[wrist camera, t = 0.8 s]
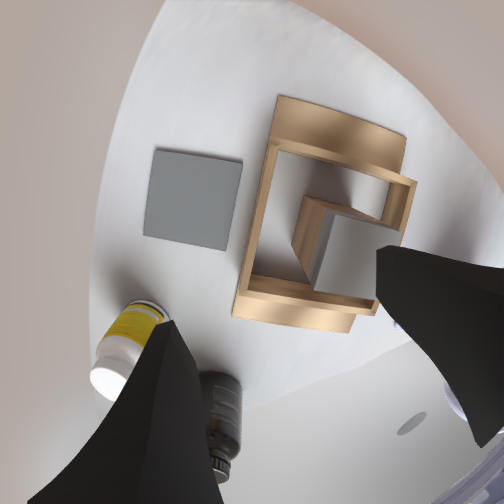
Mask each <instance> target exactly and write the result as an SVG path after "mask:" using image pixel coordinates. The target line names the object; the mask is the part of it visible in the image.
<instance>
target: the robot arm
mask: <svg viewBox="0 0 504 504" xmlns="http://www.w3.org/2000/svg"><path fill="white" fill-rule="evenodd" d="M376 297H377V299H378V300H379V302H380V303H381V304H382V306H383V307H384V309H385V310H386V311H387V312H388V314H389V315H390V316H391V317H392V318H393V319H394V321H395V322H396V323H395V326H394V327H395V329H396V330H402V331H405V332H406V333H407V334H408V335H409V336H410V337H411V338H412V339H413V340H414V341H415V342H416V343H417V344H418V345H419V346H420V348H422V350H423V351H424V352H425V353H426V354H427V355H428V356H429V357H430V359H431V360H432V361H433V362H434V364H435V365H436V367H437V368H438V369H439V371H440V372H441V374H442V375H443V377H444V378H445V380H446V381H445V383H444V390H445V397H446V399H447V401H448V403H449V405H450V406H451V407H452V409H453V410H454V411H455V412H456V413H457V414H458V415H459V416H460V417H461V418H463V419H464V420H466V421H467V422H468V423H469V425H470V428H471V430H472V433H473V436H474V439H475V442H476V443H477V444H478V445H479V447H480V448H482V447H484V446H485V445H486V444H487V443H488V442H489V441H490V440H491V439H492V438H493V437H494V436H495V435H496V434H499V433H502V432H504V269H503V268H495V267H488V266H481V265H476V264H471V263H466V262H462V261H457V260H453V259H449V258H445V257H441V256H437V255H433V254H429V253H425V252H421V251H417V250H413V249H409V248H405V247H400V246H394V245H388V246H385V247H383V248H380V249H377V250H376ZM486 482H487V483H486ZM485 483H486V484H485ZM484 484H485V486H484V488H485V491H483V492H482V493H481V494H480V495H479V496H477V497H476V498H475V499H474V500H473V501H471V502H470V503H469V504H504V438H503V439H502V440H501V441H500V442H499V443H498V444H497V445H496V446H495V447H494V448H493V449H492V450H491V452H489V453H488V455H487V456H485V457H484V458H483V459H482V460H481V461H480V462H479V463H478V464H477V465H476V466H475V467H474V468H473V469H472V470H470V471H469V472H468V473H467V474H466V475H465V476H464V477H462V478H461V479H460V480H459V481H458V482H456V483H455V484H454V485H453V486H452V487H450V488H449V489H448V490H446V491H445V492H444V493H442V494H441V495H440V496H438V497H437V498H436V499H434V500H433V501H431V502H430V503H428V504H462V503H463V502H465V501H466V500H467V499H468V498H469V497H471V496H472V495H473V494H474V493H475V492H476V491H477V490H478V489H480V488H481V487H482V486H483V485H484ZM27 504H224V502H223V499H222V496H221V493H220V491H219V487H218V484H217V481H216V478H215V474H214V470H213V467H212V463H211V459H210V455H209V450H208V444H207V436H206V428H205V419H204V410H203V401H202V392H201V385H200V381H199V376H198V372H197V367H196V363H195V361H194V359H193V357H192V355H191V353H190V351H189V350H188V348H187V346H186V344H185V342H184V340H183V338H182V337H181V335H180V333H179V331H178V329H177V327H176V325H175V323H174V321H173V320H170V321H167V322H164V323H160V324H157V325H155V327H154V329H153V330H152V332H151V334H150V336H149V338H148V340H147V342H146V344H145V346H144V348H143V351H142V353H141V355H140V357H139V359H138V361H137V363H136V364H135V366H134V368H133V370H132V372H131V374H130V376H129V378H128V380H127V381H126V383H125V385H124V387H123V389H122V390H121V392H120V394H119V396H118V398H117V399H116V401H115V403H114V404H113V406H112V408H111V409H110V411H109V412H108V414H107V415H106V417H105V418H104V420H103V421H102V423H101V424H100V426H99V427H98V429H97V430H96V431H95V433H94V434H93V435H92V436H91V438H90V439H89V440H88V442H87V443H86V444H85V445H84V447H83V448H82V449H81V450H80V452H79V453H78V454H77V455H76V456H75V458H74V459H73V460H72V461H71V462H70V463H69V464H68V465H67V466H66V467H65V468H64V469H63V470H62V471H61V473H59V474H58V475H57V477H55V478H54V479H53V480H52V481H51V482H50V483H49V484H48V485H46V486H45V487H44V488H43V489H42V490H41V491H39V492H38V493H37V494H36V495H34V496H33V497H32V498H31V499H29V500H28V502H27Z"/></svg>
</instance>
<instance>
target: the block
mask: <svg viewBox="0 0 504 504" xmlns="http://www.w3.org/2000/svg"><path fill="white" fill-rule="evenodd" d="M401 235H402V232H400V231H398V230H397V229H395V228H393V227H391V226H389V225H387V224H385V223H383V222H381V221H379V220H377V219H375V218H373V217H371V216H368V215H366V214H364V213H362V212H360V211H358V210H356V209H354V208H351V207H348V206H344V205H340V204H336V203H333V202H329V201H325V200H321V199H317V198H313V197H308V196H303V200H302V205H301V209H300V213H299V217H298V221H297V225H296V229H295V233H294V237H293V241H292V245H291V246H292V248H293V250H294V252H295V254H296V256H297V258H298V260H299V262H300V264H301V266H302V268H303V270H304V272H305V274H306V276H307V278H308V280H309V282H310V284H311V286H312V288H313V290H314V291H320V292H326V293H332V294H339V295H345V296H351V297H358V298H364V299H371V300H377V301H379V300H378V299H377V297H376V250H377V249H380V248H383V247H385V246H388V245H394V246H398V245H399V242H400V239H401Z"/></svg>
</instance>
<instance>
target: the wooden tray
mask: <svg viewBox="0 0 504 504" xmlns="http://www.w3.org/2000/svg"><path fill="white" fill-rule="evenodd" d="M406 139H407V138H406V137H403V136H401V135H399V134H396V133H394V132H392V131H389V130H387V129H384V128H382V127H379V126H377V125H374V124H372V123H369V122H366V121H364V120H361V119H358V118H355V117H352V116H349V115H346V114H343V113H340V112H337V111H334V110H331V109H328V108H324V107H321V106H317V105H314V104H310V103H307V102H303V101H299V100H295V99H291V98H287V97H283V96H278V100H277V104H276V109H275V114H274V118H273V123H272V127H271V132H270V136H269V141H268V146H267V150H266V155H265V160H264V164H263V169H262V174H261V178H260V183H259V188H258V192H257V197H256V202H255V206H254V211H253V216H252V221H251V225H250V230H249V235H248V240H247V245H246V249H245V254H244V259H243V264H242V269H241V273H240V278H239V283H238V288H237V293H236V298H235V303H234V307H233V312H232V317H235V318H241V319H247V320H253V321H259V322H265V323H271V324H278V325H285V326H292V327H299V328H306V329H314V330H323V331H331V332H340V333H349V331H350V329H351V326H352V324H353V322H354V319H355V317H356V314H361V315H369V316H375V313H376V311H377V308H378V306H379V303H380V302H379V301H377V300H371V299H364V298H358V297H351V296H345V295H339V294H332V293H326V292H320V291H314V290H313V288H312V286H311V284H305V283H299V282H294V281H288V280H283V279H277V278H272V277H266V276H261V275H255V274H251V271H252V267H253V262H254V258H255V253H256V248H257V244H258V239H259V235H260V230H261V226H262V221H263V217H264V212H265V208H266V203H267V198H268V194H269V189H270V185H271V180H272V175H273V171H274V166H275V162H276V157H277V153H278V150H280V151H285V152H289V153H293V154H297V155H301V156H305V157H309V158H313V159H317V160H320V161H324V162H328V163H331V164H335V165H338V166H341V167H345V168H348V169H351V170H355V171H358V172H361V173H364V174H367V175H370V176H373V177H376V178H379V179H382V180H385V181H388V182H391V183H390V188H389V192H388V196H387V200H386V204H385V208H384V211H383V215H382V219H381V222H383V223H385V224H387V225H389V226H391V227H393V228H395V229H397V230H398V231H400V232H402V235H401V239H400V242H399V245H398V246H400V245H401V242H402V238H403V235H404V232H405V228H406V225H407V221H408V218H409V214H410V210H411V206H412V202H413V198H414V194H415V190H416V186H417V181H415V180H412V179H410V178H407V177H405V176H402V175H400V171H401V166H402V161H403V156H404V151H405V145H406Z"/></svg>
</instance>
